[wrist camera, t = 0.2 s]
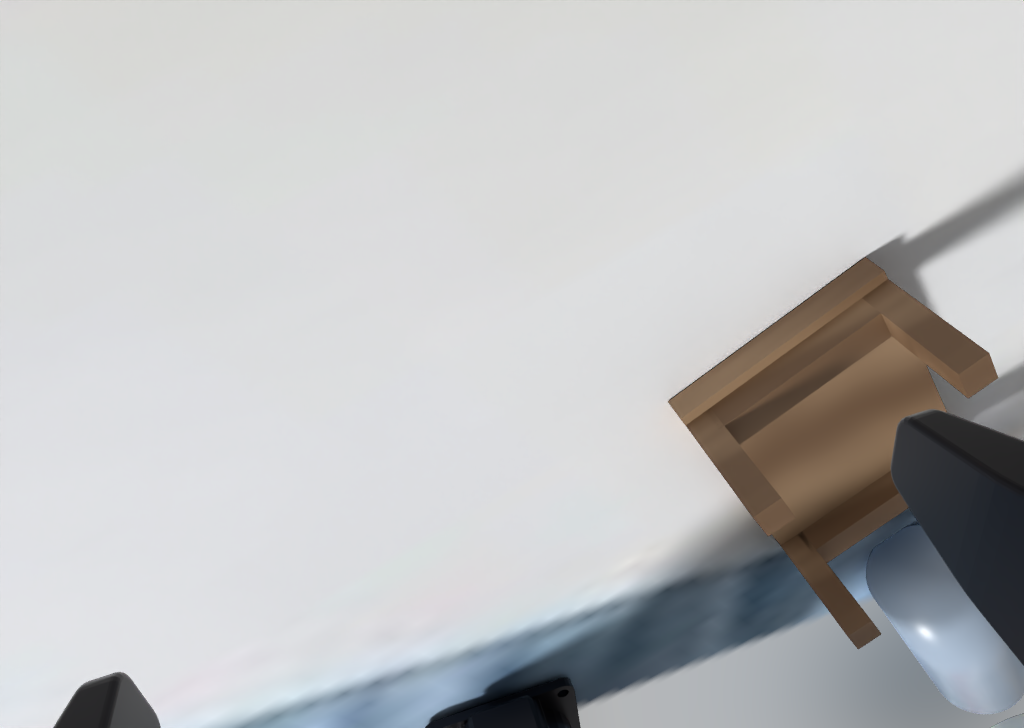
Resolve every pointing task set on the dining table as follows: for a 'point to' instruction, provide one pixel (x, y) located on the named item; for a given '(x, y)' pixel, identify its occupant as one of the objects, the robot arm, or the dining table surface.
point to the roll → (943, 625)
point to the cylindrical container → (1011, 722)
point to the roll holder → (828, 419)
